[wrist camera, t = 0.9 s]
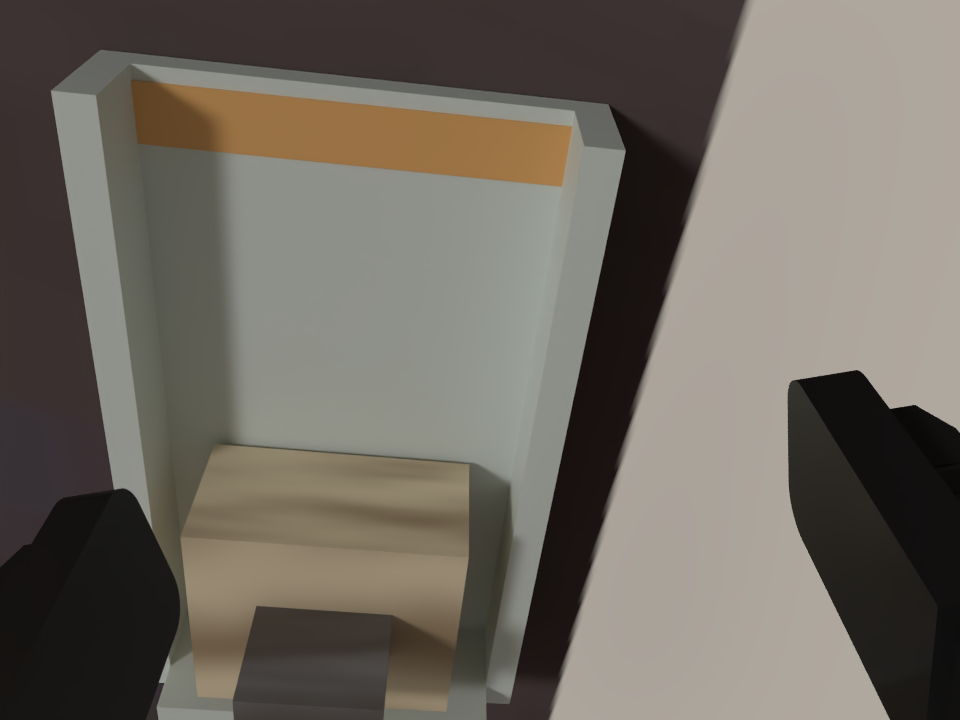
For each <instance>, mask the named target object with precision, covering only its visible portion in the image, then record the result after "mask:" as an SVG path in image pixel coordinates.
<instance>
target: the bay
mask: <svg viewBox="0 0 960 720" xmlns="http://www.w3.org/2000/svg"><path fill="white" fill-rule="evenodd" d="M51 93H52V100H53V106H54V112H55V119H56V125H57V131H58V138H59V144H60V150H61V156H62V163H63V169H64V175H65V182H66V188H67V194H68V201H69V207H70V213H71V220H72V226H73V232H74V239H75V245H76V251H77V258H78V264H79V270H80V277H81V283H82V289H83V296H84V302H85V308H86V315H87V321H88V327H89V334H90V340H91V346H92V353H93V359H94V365H95V372H96V378H97V384H98V391H99V397H100V403H101V409H102V416H103V422H104V428H105V435H106V441H107V447H108V454H109V460H110V466H111V473H112V479H113V485H114V490H115V489H121V488H124V489H127V490H129V491H131V492H132V493H133V494H134V496H135V497H136V498H137V500H138V502H139V504H140V506H141V508H142V510H143V512H144V514H145V516H146V518H147V520H148V523H149V525H150V527H151V529H152V531H153V533H154V535H155V537H156V539H157V541H158V543H159V545H160V548H161V550H162V552H163V554H164V556H165V558H166V560H167V562H168V564H169V566H170V568H171V571H172V573H173V575H174V577H175V580H176V583H177V586H178V590H179V597H180V620H179V625H178V629H177V632H176V635H175V638H174V641H173V644H172V646H171V649H170V652H169V655H168V658H167V661H166V663H165V666H164V669H163V672H162V675H161V678H160V680H159V683H165V684H164V687H163V690H162V693H161V696H160V699H159V702H158V705H157V712H158V718H159V720H234V716H233V702H232V701H233V699H226V698H209V697H197V688H196V679H195V669H194V660H193V651H192V641H191V632H190V623H189V613H188V604H187V595H186V585H185V576H184V567H183V557H182V548H181V539H180V536H181V534H182V531H183V528H184V526H185V523H186V520H187V517H188V515H189V512H190V509H191V507H192V504H193V501H194V498H195V496H196V493H197V490H198V488H199V485H200V482H201V479H202V477H203V474H204V471H205V469H206V466H207V463H208V460H209V458H210V455H211V452H212V450H213V447H214V444H221V445H233V446H246V447H258V448H271V449H284V450H296V451H309V452H321V453H334V454H347V455H359V456H372V457H384V458H397V459H410V460H422V461H435V462H447V463H460V464H469V560H468V567H467V574H466V580H465V587H464V594H463V601H462V608H461V614H460V621H459V628H458V635H457V642H456V648H455V655H454V662H453V669H452V676H451V682H450V689H449V696H448V703H447V710H446V712H440V711H424V710H407V709H391V708H384V719H383V720H486V703H501V704H509V703H510V699H511V694H512V689H513V684H514V680H515V675H516V670H517V665H518V661H519V656H520V651H521V646H522V642H523V637H524V632H525V627H526V623H527V618H528V613H529V608H530V604H531V599H532V594H533V589H534V585H535V580H536V575H537V570H538V566H539V561H540V556H541V551H542V547H543V542H544V537H545V532H546V528H547V523H548V518H549V513H550V509H551V504H552V499H553V494H554V490H555V485H556V480H557V475H558V471H559V466H560V461H561V456H562V452H563V447H564V442H565V437H566V433H567V428H568V423H569V418H570V414H571V409H572V404H573V399H574V395H575V390H576V385H577V380H578V376H579V371H580V366H581V361H582V356H583V352H584V347H585V342H586V337H587V333H588V328H589V323H590V318H591V314H592V309H593V304H594V299H595V295H596V290H597V285H598V280H599V276H600V271H601V266H602V261H603V257H604V252H605V247H606V242H607V238H608V233H609V228H610V223H611V219H612V214H613V209H614V204H615V200H616V195H617V190H618V185H619V181H620V176H621V171H622V166H623V162H624V157H625V152H626V150H625V147H624V144H623V142H622V139H621V136H620V134H619V131H618V129H617V126H616V123H615V121H614V118H613V115H612V113H611V110H610V107H609V105H608V104H600V103H591V102H581V101H572V100H563V99H553V98H544V97H535V96H526V95H516V94H507V93H498V92H488V91H479V90H470V89H460V88H451V87H442V86H433V85H423V84H414V83H405V82H395V81H386V80H377V79H368V78H358V77H349V76H340V75H330V74H321V73H312V72H302V71H293V70H284V69H275V68H265V67H256V66H247V65H237V64H228V63H219V62H209V61H200V60H191V59H182V58H172V57H163V56H154V55H144V54H135V53H126V52H117V51H107V50H100V51H99V52H98V53H96V54H95V55H94V56H93V57H91V58H90V59H89V60H88V61H87V62H85V63H84V64H83V65H82V66H81V67H79V68H78V69H77V70H76V71H74V72H73V73H72V74H71V75H70V76H68V77H67V78H66V79H65V80H64V81H62V82H61V83H60V84H59V85H57V86H56V87H55V88H54V89H53V90H51Z"/></svg>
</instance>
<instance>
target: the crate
mask: <svg viewBox="0 0 960 720" xmlns="http://www.w3.org/2000/svg"><path fill="white" fill-rule="evenodd" d="M180 539H181V548H182V557H183V567H184V576H185V585H186V595H187V604H188V613H189V623H190V632H191V641H192V651H193V660H194V669H195V679H196V688H197V697H209V698H226V699H233V701H232V702H233V716H234V720H383V719H384V708H391V709H407V710H424V711H440V712H446V710H447V703H448V696H449V689H450V682H451V676H452V669H453V662H454V655H455V648H456V642H457V635H458V628H459V621H460V614H461V608H462V601H463V594H464V587H465V580H466V574H467V567H468V560H469V464H460V463H447V462H435V461H422V460H410V459H397V458H384V457H372V456H359V455H347V454H334V453H321V452H309V451H296V450H284V449H271V448H258V447H246V446H233V445H221V444H214V447H213V450H212V452H211V455H210V458H209V460H208V463H207V466H206V469H205V471H204V474H203V477H202V479H201V482H200V485H199V488H198V490H197V493H196V496H195V498H194V501H193V504H192V507H191V509H190V512H189V515H188V517H187V520H186V523H185V526H184V528H183V531H182V534H181V536H180Z"/></svg>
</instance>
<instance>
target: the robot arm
mask: <svg viewBox="0 0 960 720" xmlns="http://www.w3.org/2000/svg"><path fill="white" fill-rule="evenodd" d="M788 456H789V457H788V458H789V459H788V460H789V461H788V462H789V493H790V500H791V505H792V510H793V514H794V518H795V521H796V525H797V528H798V531H799V533H800V536H801V538H802V540H803V542H804V544H805V546H806V548H807V550H808V553H809V555H810V556H811V559H812V561H813V563H814V565H815V567H816V569H817V571H818V573H819V575H820V577H821V579H822V581H823V583H824V585H825V587H826V589H827V591H828V593H829V596H830V598H831V600H832V602H833V604H834V606H835V608H836V610H837V612H838V614H839V616H840V618H841V620H842V622H843V624H844V626H845V628H846V630H847V632H848V634H849V636H850V638H851V641H852V643H853V645H854V646H855V649H856V651H857V653H858V655H859V657H860V659H861V661H862V663H863V665H864V667H865V669H866V671H867V673H868V675H869V677H870V679H871V681H872V684H873V685H874V687H875V690H876V692H877V694H878V696H879V698H880V700H881V702H882V704H883V706H884V708H885V710H886V712H887V714H888V716H889V718H890V720H960V433H959V432H958V430H957V429H956V428H954V427H953V426H951V425H949V424H947V423H946V422H944V421H942V420H940V419H939V418H937V417H935V416H933V415H931V414H930V413H928V412H926V411H924V410H923V409H921V408H919V407H918V406H916V405H912V406H906V407H899V408H893V409H889V407H888V406H887V405H886V403H885V402H884V401H883V400H882V398H881V397H880V395H879V394H878V393H877V391H876V390H875V389H874V387H873V386H872V385H871V383H870V382H869V381H868V379H867V378H866V377H865V376H864V374H862V373H861V372H860V371H858V370H855V371H849V372H843V373H837V374H831V375H825V376H818V377H812V378H806V379H800V380H794V381H792V382H791V383H790V385H789V389H788ZM179 620H180V597H179V590H178V586H177V583H176V580H175V577H174V575H173V573H172V571H171V568H170V566H169V564H168V562H167V560H166V558H165V556H164V554H163V552H162V550H161V548H160V545H159V543H158V541H157V539H156V537H155V535H154V533H153V531H152V529H151V527H150V525H149V523H148V520H147V518H146V516H145V514H144V512H143V510H142V508H141V506H140V504H139V502H138V500H137V498H136V497H135V496H134V494H133V493H132V492H131V491H129V490H127V489H124V488H121V489H115V490H108V491H102V492H96V493H90V494H84V495H78V496H72V497H66V498H63V499H61V500H59V501H58V502H57V503H56V505H55V506H54V507H53V509H52V511H51V512H50V514H49V516H48V517H47V519H46V521H45V522H44V524H43V526H42V527H41V529H40V531H39V532H38V534H37V536H36V537H35V539H34V541H33V542H32V544H29V545H24V546H23V547H22V548H21V549H20V550H19V551H17V552H16V553H15V554H14V555H13V556H12V557H11V558H10V559H9V560H8V561H7V562H6V563H5V564H4V565H2V566H1V567H0V720H146V717H147V714H148V712H149V709H150V706H151V703H152V700H153V697H154V695H155V692H156V689H157V686H158V683H159V680H160V678H161V675H162V672H163V669H164V666H165V663H166V661H167V658H168V655H169V652H170V649H171V646H172V644H173V641H174V638H175V635H176V632H177V629H178V625H179Z"/></svg>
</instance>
